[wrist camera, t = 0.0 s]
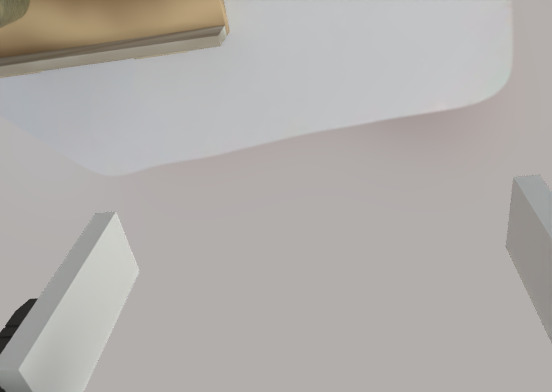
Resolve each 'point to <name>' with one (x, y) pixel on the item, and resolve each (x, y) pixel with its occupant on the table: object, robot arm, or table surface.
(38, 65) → the shelf board
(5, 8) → the sage tin
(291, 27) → the table surface
